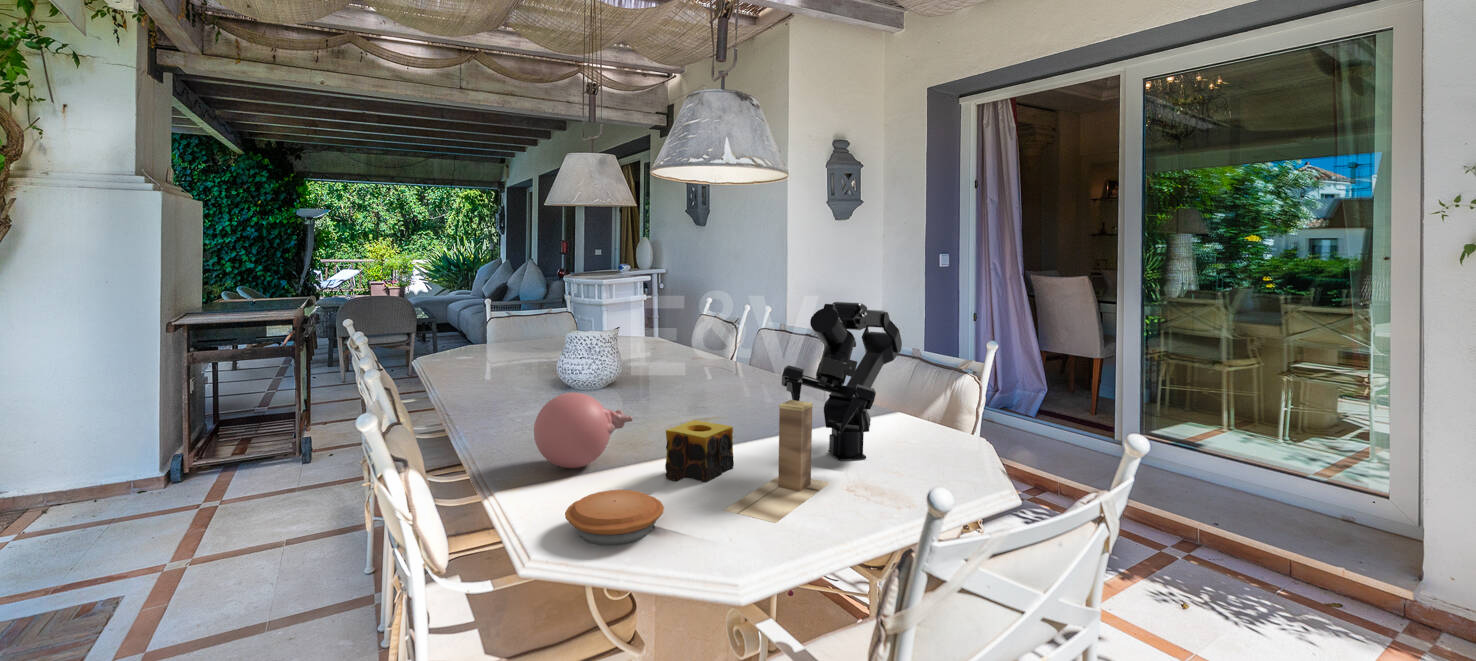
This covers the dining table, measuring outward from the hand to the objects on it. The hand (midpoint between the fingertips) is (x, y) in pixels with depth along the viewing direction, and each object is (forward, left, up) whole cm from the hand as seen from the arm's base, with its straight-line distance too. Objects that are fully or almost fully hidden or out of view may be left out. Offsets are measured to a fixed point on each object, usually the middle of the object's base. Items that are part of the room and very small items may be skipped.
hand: (817, 426), depth 132 cm
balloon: (+44, -18, -11) cm, 49 cm away
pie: (+40, +16, -11) cm, 45 cm away
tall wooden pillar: (+7, +7, -9) cm, 13 cm away
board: (+11, +11, -10) cm, 19 cm away
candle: (+22, -6, -11) cm, 25 cm away
